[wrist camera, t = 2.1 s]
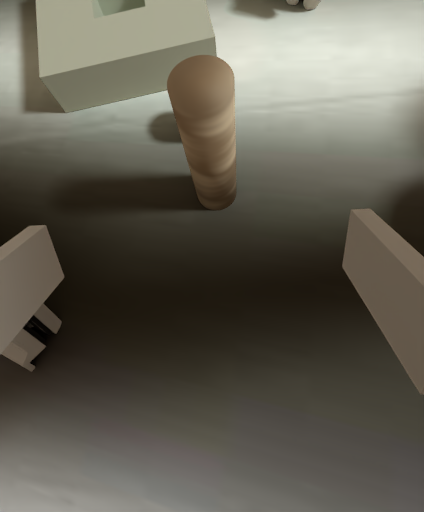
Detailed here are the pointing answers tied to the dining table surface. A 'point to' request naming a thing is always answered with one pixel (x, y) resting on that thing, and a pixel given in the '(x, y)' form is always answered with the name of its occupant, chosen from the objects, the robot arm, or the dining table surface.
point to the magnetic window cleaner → (32, 337)
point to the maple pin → (207, 125)
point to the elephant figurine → (305, 3)
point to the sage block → (116, 46)
